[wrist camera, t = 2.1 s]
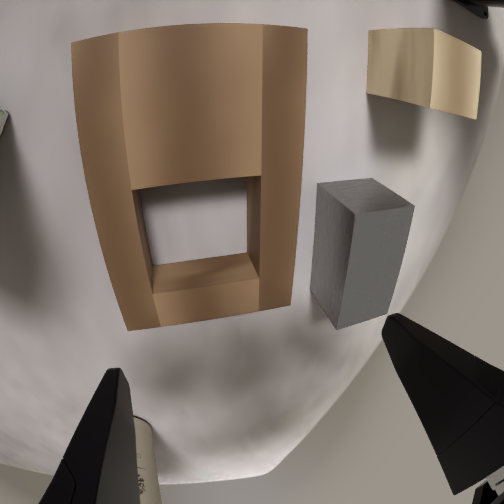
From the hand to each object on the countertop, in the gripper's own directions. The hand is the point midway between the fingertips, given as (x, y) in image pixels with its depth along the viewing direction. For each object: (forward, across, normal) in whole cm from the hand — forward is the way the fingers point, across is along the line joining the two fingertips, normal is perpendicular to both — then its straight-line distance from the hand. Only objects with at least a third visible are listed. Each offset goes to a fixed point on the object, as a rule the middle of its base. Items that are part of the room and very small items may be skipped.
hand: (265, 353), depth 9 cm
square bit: (+12, -12, -9) cm, 20 cm away
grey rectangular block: (+12, -10, +4) cm, 16 cm away
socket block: (+12, +1, -2) cm, 12 cm away
